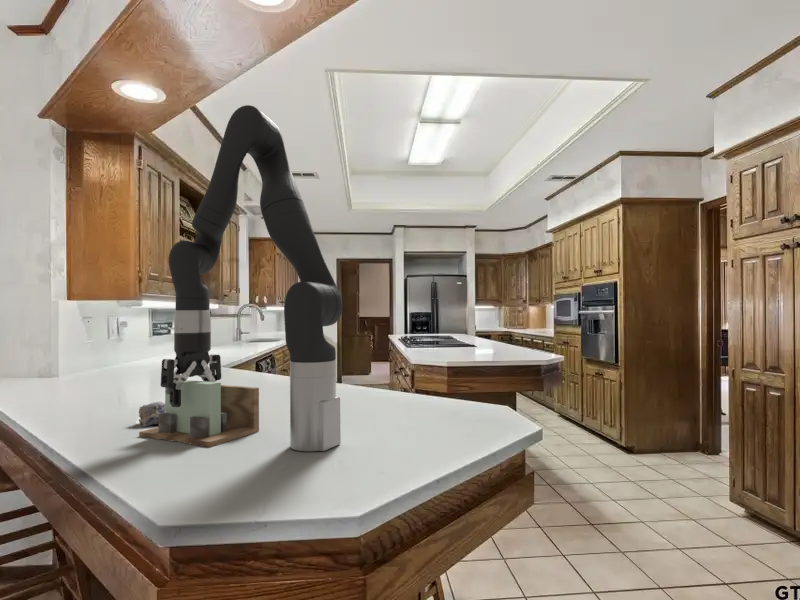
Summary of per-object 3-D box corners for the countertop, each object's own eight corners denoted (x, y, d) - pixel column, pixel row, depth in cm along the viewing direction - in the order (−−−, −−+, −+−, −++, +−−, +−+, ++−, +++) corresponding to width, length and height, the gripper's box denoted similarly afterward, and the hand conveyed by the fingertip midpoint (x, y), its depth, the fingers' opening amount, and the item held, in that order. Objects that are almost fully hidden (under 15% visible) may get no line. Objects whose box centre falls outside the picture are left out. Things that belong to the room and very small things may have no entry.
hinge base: (259, 431, 107) (258, 387, 108) (210, 447, 95) (210, 397, 95) (191, 423, 117) (191, 382, 117) (139, 436, 104) (139, 391, 105)
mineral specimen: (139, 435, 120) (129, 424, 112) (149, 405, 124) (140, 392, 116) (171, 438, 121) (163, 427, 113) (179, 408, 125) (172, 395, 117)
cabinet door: (220, 432, 102) (220, 382, 103) (206, 437, 99) (206, 384, 99) (176, 427, 108) (176, 379, 109) (161, 430, 105) (161, 381, 105)
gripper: (176, 332, 97) (176, 410, 96) (229, 329, 110) (229, 399, 109) (152, 331, 100) (152, 408, 99) (206, 329, 113) (206, 397, 112)
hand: (192, 403), depth 104 cm, fingers open, 8 cm apart
